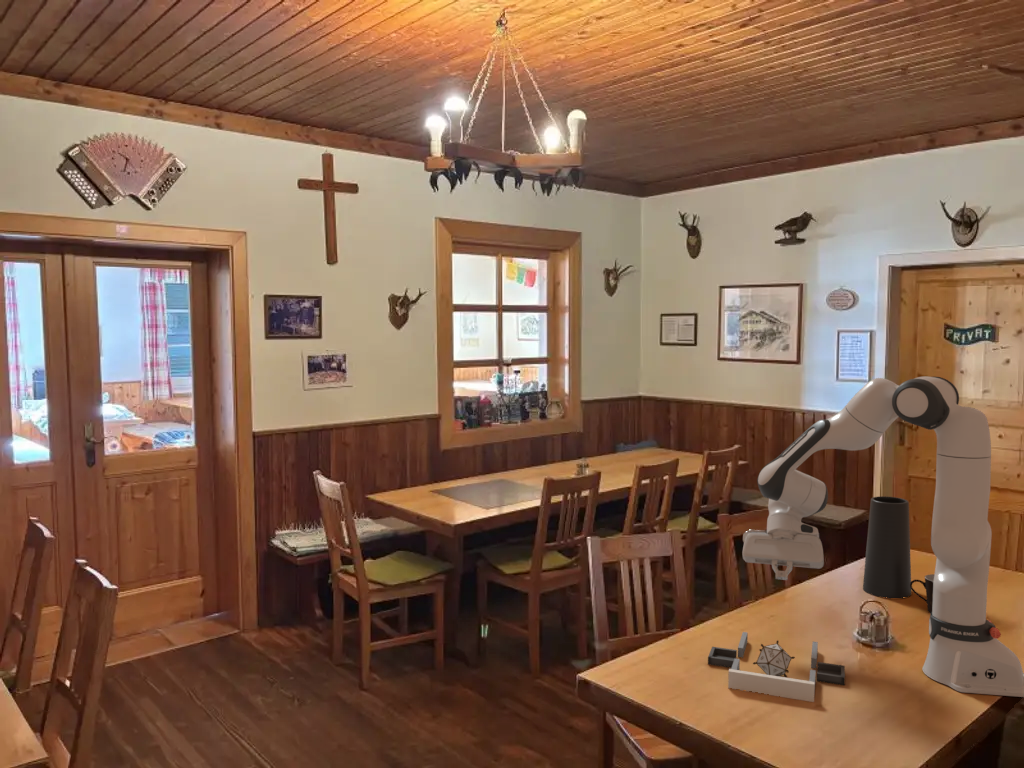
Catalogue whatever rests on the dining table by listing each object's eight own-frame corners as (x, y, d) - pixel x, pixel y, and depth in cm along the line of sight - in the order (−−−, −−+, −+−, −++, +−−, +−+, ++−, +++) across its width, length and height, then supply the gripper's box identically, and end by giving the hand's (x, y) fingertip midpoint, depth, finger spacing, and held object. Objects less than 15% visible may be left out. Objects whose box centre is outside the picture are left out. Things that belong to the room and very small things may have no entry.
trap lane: (844, 655, 201) (844, 639, 201) (844, 707, 174) (845, 689, 174) (718, 637, 213) (718, 623, 213) (700, 683, 186) (700, 666, 185)
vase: (859, 593, 247) (861, 501, 245) (867, 581, 258) (869, 493, 256) (907, 601, 240) (911, 506, 237) (914, 589, 251) (917, 498, 249)
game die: (781, 694, 188) (801, 671, 182) (747, 680, 189) (765, 657, 183) (781, 663, 195) (800, 640, 189) (748, 649, 196) (766, 626, 190)
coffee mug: (963, 614, 229) (964, 580, 228) (947, 620, 224) (948, 585, 224) (923, 602, 239) (924, 569, 238) (907, 608, 234) (908, 575, 233)
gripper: (742, 523, 216) (738, 568, 207) (824, 528, 208) (823, 576, 200) (744, 535, 220) (740, 580, 212) (824, 541, 213) (823, 588, 204)
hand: (781, 578), depth 206 cm, fingers closed
